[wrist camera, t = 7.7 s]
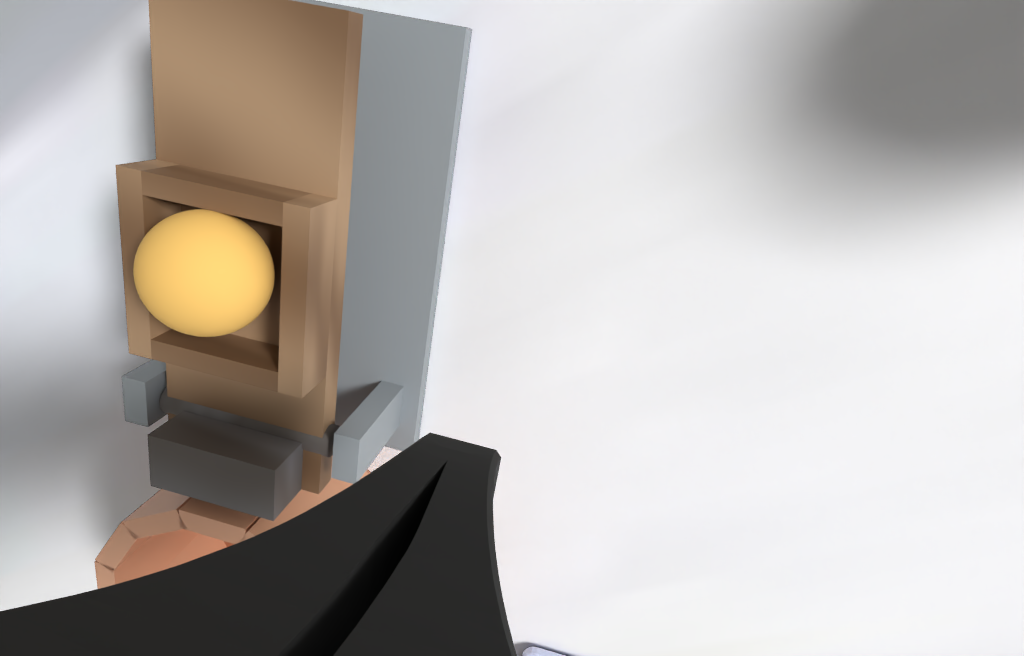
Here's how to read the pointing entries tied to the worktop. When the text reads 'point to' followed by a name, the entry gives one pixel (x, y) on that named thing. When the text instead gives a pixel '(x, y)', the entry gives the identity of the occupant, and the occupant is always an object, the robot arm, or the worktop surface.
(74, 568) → the worktop surface
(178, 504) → the wooden basket
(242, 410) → the catapult lever
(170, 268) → the ball
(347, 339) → the stand
